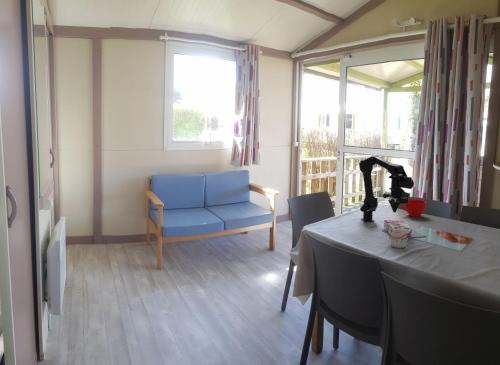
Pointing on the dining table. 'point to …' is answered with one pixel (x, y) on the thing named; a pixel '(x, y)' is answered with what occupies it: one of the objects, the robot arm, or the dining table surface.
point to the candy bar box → (397, 226)
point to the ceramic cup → (414, 207)
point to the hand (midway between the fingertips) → (394, 212)
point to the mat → (413, 234)
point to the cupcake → (398, 238)
